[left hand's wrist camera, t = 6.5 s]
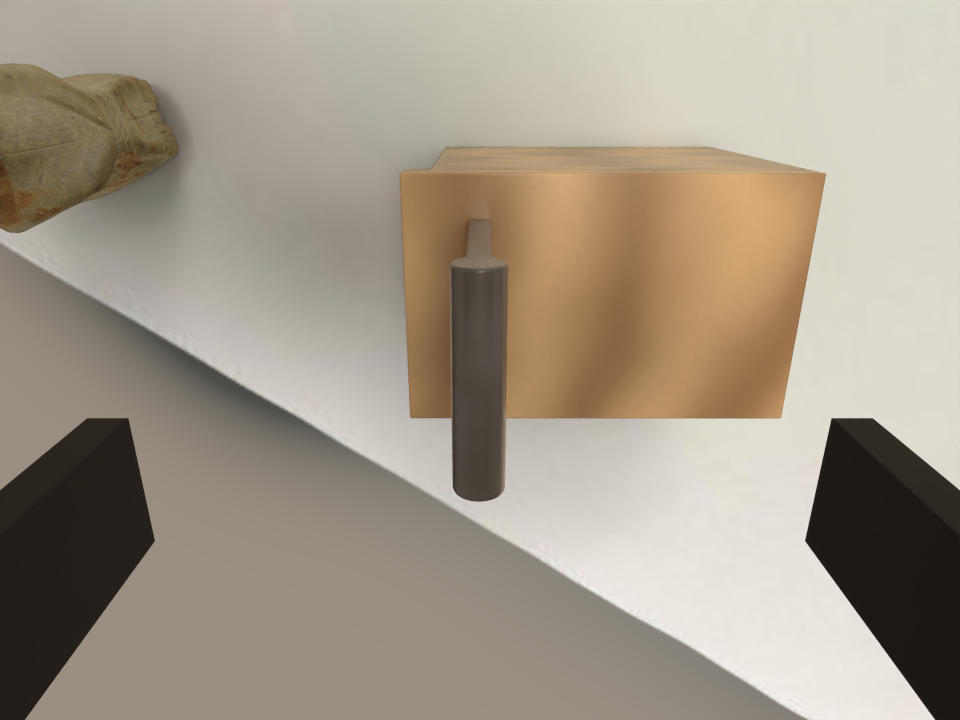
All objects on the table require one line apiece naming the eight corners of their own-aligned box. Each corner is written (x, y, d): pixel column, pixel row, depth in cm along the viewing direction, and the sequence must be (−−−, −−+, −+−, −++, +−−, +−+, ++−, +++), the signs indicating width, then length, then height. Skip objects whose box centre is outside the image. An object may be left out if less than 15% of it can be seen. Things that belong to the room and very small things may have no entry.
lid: (413, 404, 26) (382, 544, 18) (403, 169, 23) (361, 210, 15) (768, 405, 26) (897, 544, 18) (810, 169, 23) (990, 211, 15)
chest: (448, 320, 36) (436, 404, 26) (445, 146, 33) (430, 169, 23) (690, 320, 36) (767, 404, 26) (711, 147, 33) (809, 169, 23)
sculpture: (20, 94, 32) (-339, 96, 18) (159, 50, 31) (-102, 15, 17) (79, 214, 34) (-203, 299, 20) (210, 175, 33) (15, 235, 19)
